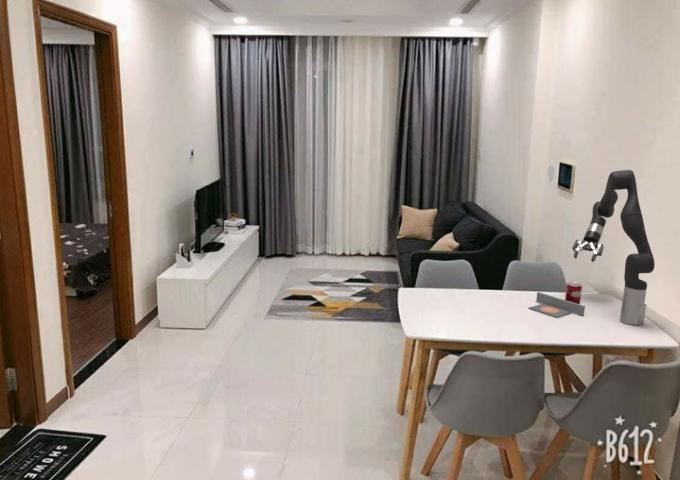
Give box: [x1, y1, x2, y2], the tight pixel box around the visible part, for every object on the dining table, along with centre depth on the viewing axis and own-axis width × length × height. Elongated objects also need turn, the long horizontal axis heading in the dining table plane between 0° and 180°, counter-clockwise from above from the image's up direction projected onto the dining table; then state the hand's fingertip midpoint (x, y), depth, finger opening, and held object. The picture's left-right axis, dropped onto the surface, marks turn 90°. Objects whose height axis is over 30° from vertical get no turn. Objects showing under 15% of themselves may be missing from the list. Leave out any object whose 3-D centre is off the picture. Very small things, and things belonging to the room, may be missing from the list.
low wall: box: [535, 291, 586, 317], centre depth 279 cm, size 26×1×5 cm, turn 35°
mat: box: [528, 303, 572, 319], centre depth 275 cm, size 16×12×1 cm
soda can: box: [564, 281, 583, 305], centre depth 282 cm, size 7×7×12 cm
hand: (583, 259), depth 287 cm, fingers open, 8 cm apart
